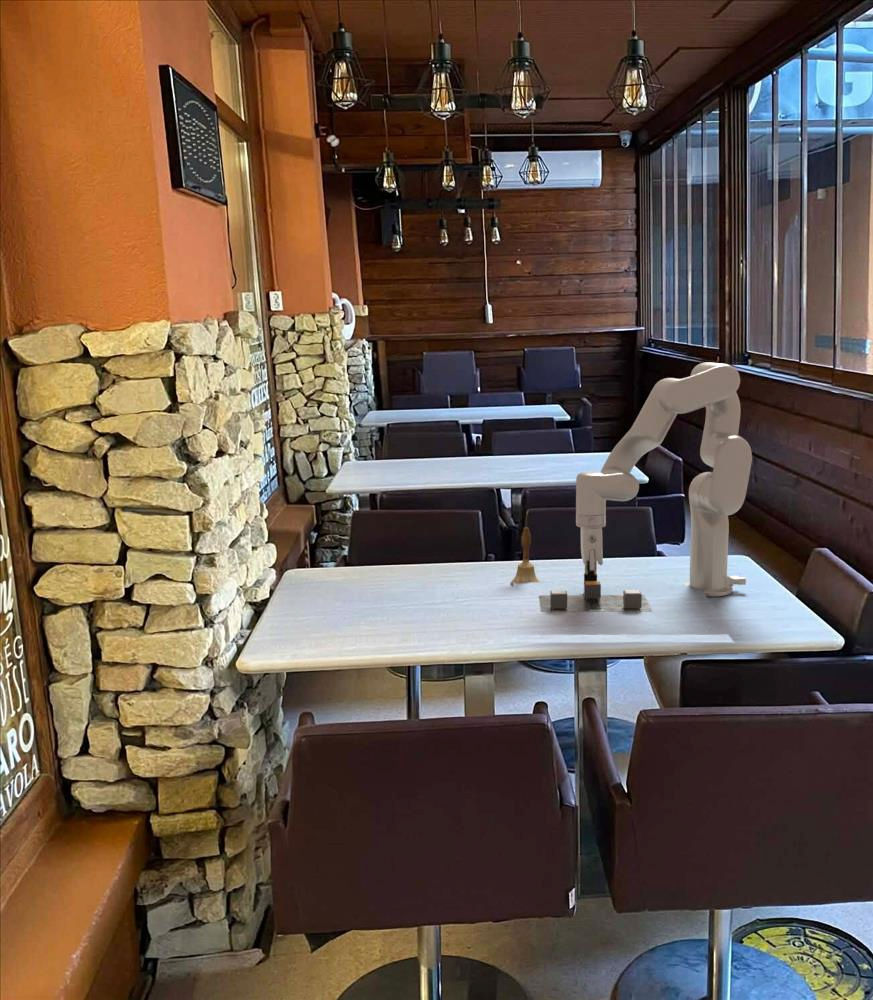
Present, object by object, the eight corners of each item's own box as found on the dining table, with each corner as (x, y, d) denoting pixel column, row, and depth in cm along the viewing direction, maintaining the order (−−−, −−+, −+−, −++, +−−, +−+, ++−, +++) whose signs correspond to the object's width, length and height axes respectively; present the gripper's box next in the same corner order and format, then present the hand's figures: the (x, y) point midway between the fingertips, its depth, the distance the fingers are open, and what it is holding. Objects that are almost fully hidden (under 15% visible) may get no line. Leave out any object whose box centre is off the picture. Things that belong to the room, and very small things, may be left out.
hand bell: (540, 579, 265) (540, 524, 262) (540, 587, 257) (540, 530, 254) (511, 579, 266) (510, 524, 263) (510, 587, 258) (509, 530, 255)
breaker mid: (599, 594, 242) (599, 580, 242) (600, 598, 239) (600, 584, 238) (583, 594, 243) (583, 580, 242) (584, 598, 239) (584, 584, 239)
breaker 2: (639, 604, 233) (639, 589, 233) (641, 608, 230) (641, 593, 229) (623, 604, 234) (623, 589, 233) (624, 608, 230) (625, 593, 230)
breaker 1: (566, 604, 235) (566, 590, 234) (567, 608, 231) (567, 593, 231) (550, 604, 235) (550, 590, 234) (550, 608, 232) (550, 593, 231)
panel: (644, 600, 243) (644, 594, 242) (652, 617, 229) (652, 611, 229) (538, 601, 245) (538, 595, 244) (540, 617, 231) (540, 611, 231)
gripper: (608, 525, 235) (607, 596, 238) (602, 514, 249) (602, 581, 253) (578, 526, 235) (577, 596, 238) (574, 514, 250) (573, 581, 253)
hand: (590, 588), depth 245 cm, fingers closed
